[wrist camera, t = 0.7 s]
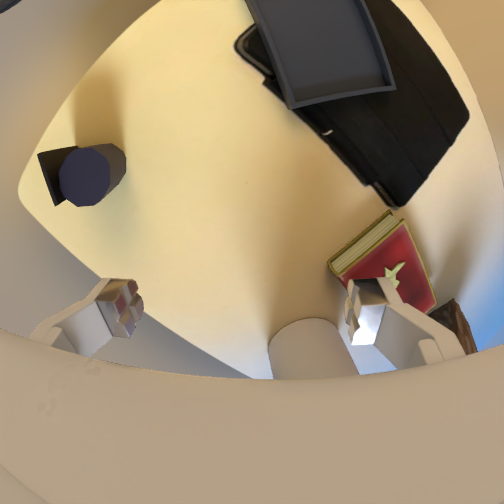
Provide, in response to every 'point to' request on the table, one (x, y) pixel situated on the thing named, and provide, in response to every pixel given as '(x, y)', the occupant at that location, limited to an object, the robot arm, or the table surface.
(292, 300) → the table surface
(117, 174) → the speaker
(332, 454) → the robot arm
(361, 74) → the shallow rimmed tray
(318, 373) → the cylinder vase
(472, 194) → the table surface
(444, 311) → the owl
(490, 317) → the table surface
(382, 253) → the hardcover book
